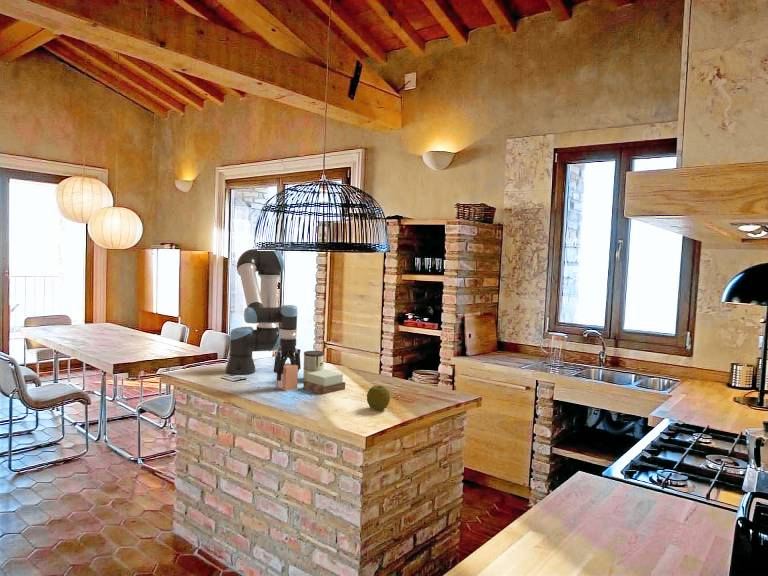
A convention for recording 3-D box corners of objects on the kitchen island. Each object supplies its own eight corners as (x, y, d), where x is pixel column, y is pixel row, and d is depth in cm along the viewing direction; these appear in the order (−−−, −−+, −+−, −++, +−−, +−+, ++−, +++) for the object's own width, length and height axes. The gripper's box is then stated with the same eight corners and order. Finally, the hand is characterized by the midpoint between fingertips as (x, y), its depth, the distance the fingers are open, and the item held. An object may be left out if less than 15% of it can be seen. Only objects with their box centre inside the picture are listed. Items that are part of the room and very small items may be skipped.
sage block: (306, 381, 271) (306, 373, 271) (324, 377, 280) (325, 369, 280) (324, 386, 263) (324, 377, 263) (342, 382, 272) (342, 374, 272)
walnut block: (303, 389, 271) (303, 381, 271) (324, 384, 282) (325, 377, 282) (323, 395, 262) (323, 386, 262) (344, 390, 273) (345, 382, 273)
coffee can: (305, 376, 295) (306, 350, 294) (325, 378, 294) (326, 351, 293) (300, 381, 285) (301, 353, 284) (320, 382, 284) (322, 354, 283)
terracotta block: (276, 387, 270) (276, 365, 269) (287, 385, 275) (288, 363, 274) (285, 390, 265) (286, 367, 265) (297, 388, 271) (298, 365, 270)
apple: (361, 407, 243) (362, 382, 242) (380, 405, 248) (381, 380, 247) (375, 414, 234) (376, 387, 234) (394, 411, 240) (395, 385, 239)
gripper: (276, 341, 259) (274, 390, 260) (309, 337, 274) (308, 384, 275) (266, 338, 264) (264, 387, 265) (299, 335, 279) (298, 381, 280)
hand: (286, 385), depth 270 cm, fingers closed on terracotta block, 7 cm apart
